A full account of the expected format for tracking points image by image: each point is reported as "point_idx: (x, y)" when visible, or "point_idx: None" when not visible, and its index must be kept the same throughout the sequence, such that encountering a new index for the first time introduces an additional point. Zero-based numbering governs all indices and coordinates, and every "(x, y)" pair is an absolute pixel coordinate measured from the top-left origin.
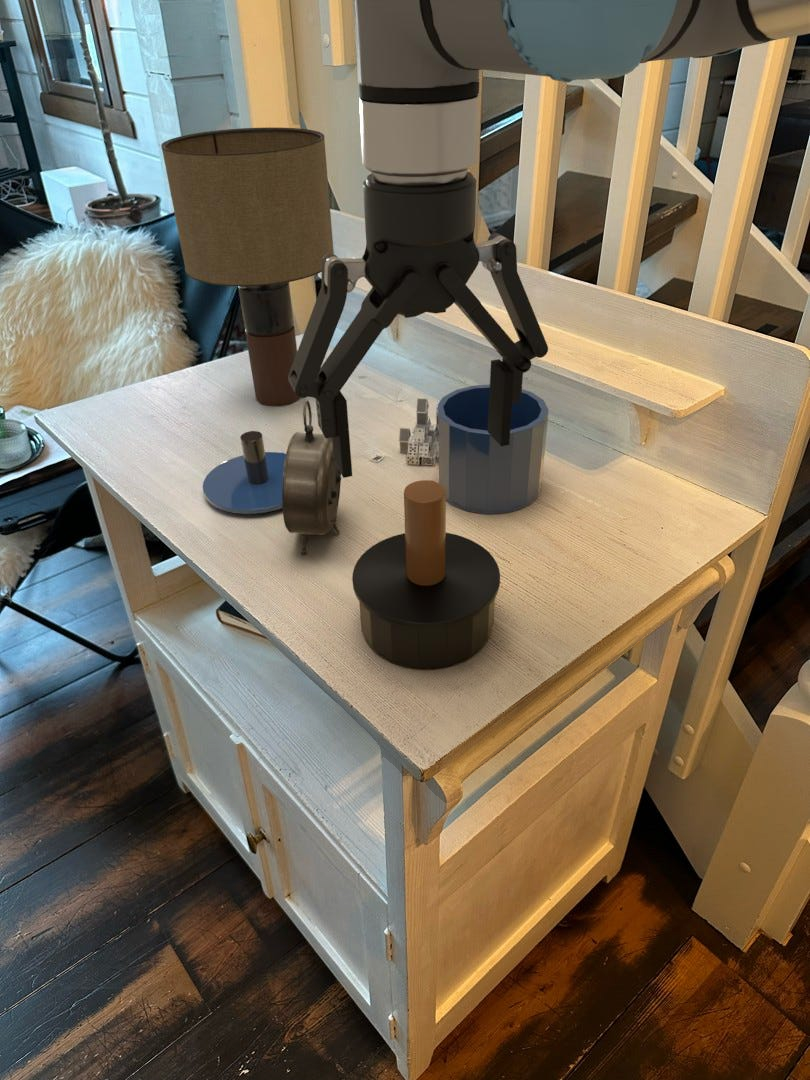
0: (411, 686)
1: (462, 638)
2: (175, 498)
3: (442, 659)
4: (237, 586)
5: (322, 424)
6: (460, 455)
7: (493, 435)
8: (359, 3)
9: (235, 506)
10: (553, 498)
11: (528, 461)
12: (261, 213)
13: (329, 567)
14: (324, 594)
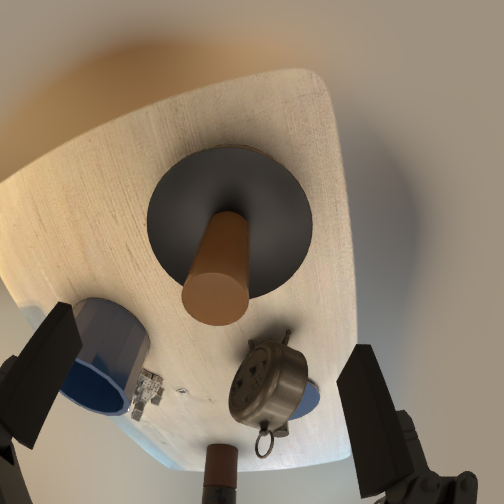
0: (286, 142)
1: None
2: (332, 402)
3: (249, 147)
4: (349, 318)
5: (415, 432)
6: (123, 361)
7: (75, 332)
8: None
9: (308, 386)
10: (68, 295)
11: None
12: None
13: (276, 309)
14: (297, 282)
